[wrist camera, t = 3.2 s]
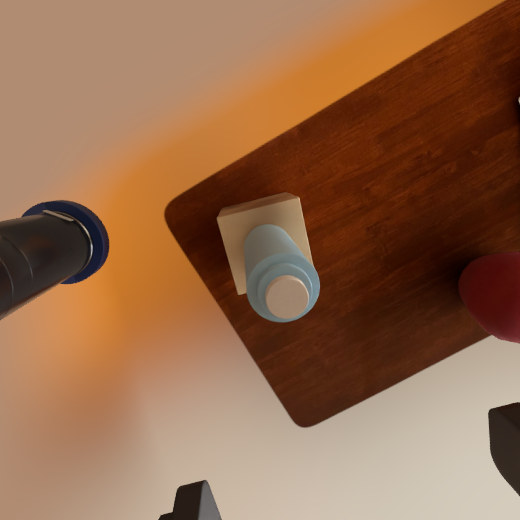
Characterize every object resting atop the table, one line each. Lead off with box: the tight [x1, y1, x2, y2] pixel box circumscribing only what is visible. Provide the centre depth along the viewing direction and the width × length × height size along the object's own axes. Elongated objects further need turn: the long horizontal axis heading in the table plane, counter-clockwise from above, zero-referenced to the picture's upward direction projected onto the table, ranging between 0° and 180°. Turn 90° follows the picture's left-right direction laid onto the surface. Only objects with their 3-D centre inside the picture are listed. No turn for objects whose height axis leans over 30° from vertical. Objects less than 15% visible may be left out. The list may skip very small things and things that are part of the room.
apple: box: [458, 252, 520, 343], centre depth 42 cm, size 12×12×13 cm
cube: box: [217, 192, 313, 295], centre depth 40 cm, size 9×9×10 cm
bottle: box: [244, 224, 320, 322], centre depth 28 cm, size 5×5×15 cm
